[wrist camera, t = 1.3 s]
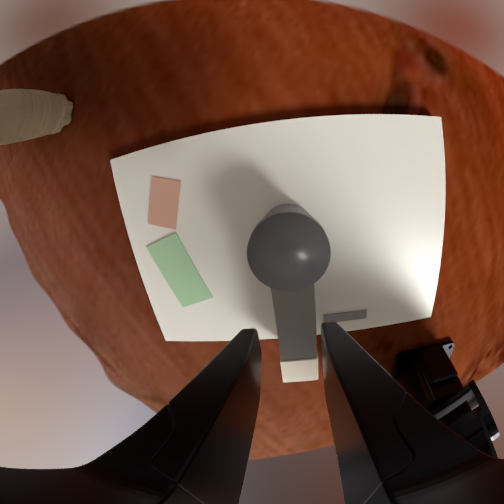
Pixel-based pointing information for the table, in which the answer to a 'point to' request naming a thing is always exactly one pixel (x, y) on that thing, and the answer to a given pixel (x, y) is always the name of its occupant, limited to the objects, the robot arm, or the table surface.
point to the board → (288, 192)
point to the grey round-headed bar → (291, 282)
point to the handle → (31, 114)
